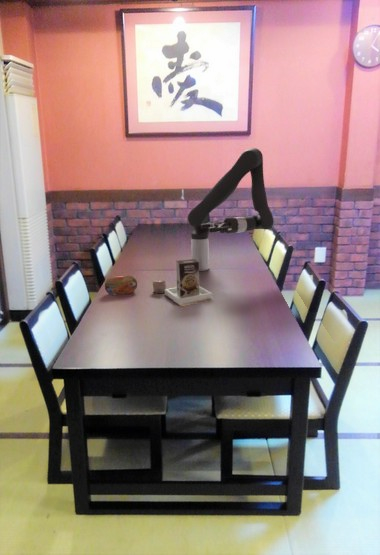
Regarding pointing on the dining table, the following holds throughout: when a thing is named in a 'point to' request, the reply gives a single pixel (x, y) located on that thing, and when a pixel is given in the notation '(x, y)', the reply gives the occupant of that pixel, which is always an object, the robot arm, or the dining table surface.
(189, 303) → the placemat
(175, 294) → the dish
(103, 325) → the dining table surface
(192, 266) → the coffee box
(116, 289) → the tin
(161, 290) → the rounded taupe cylinder
